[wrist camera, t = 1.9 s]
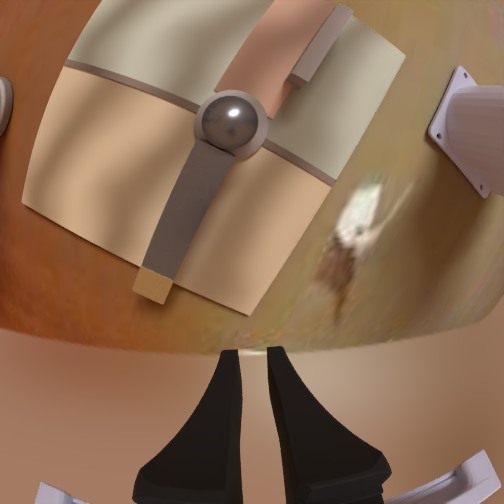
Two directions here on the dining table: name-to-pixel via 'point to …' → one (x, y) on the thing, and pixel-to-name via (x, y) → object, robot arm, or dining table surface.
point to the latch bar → (194, 192)
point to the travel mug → (5, 103)
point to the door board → (190, 129)
